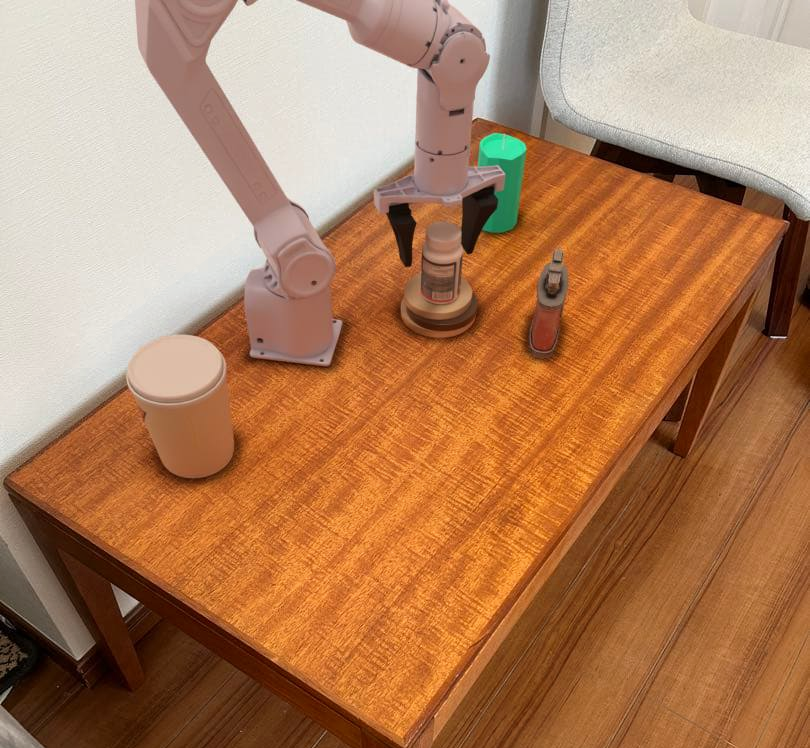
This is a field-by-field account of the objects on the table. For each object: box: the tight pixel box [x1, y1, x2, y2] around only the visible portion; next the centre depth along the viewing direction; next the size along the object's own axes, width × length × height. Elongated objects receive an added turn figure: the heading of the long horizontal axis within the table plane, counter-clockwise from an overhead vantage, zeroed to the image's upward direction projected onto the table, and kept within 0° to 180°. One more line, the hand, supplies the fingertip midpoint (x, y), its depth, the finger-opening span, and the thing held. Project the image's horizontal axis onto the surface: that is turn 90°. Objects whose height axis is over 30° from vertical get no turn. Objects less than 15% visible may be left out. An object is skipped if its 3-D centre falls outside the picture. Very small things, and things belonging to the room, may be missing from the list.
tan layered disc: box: [400, 272, 479, 339], centre depth 102 cm, size 9×9×3 cm
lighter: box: [528, 248, 570, 359], centre depth 97 cm, size 8×3×10 cm, turn 169°
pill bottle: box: [420, 220, 464, 304], centre depth 98 cm, size 5×5×8 cm
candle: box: [477, 132, 527, 234], centre depth 111 cm, size 6×6×12 cm
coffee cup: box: [125, 334, 235, 479], centre depth 85 cm, size 9×9×12 cm
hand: (436, 255), depth 98 cm, fingers open, 7 cm apart
